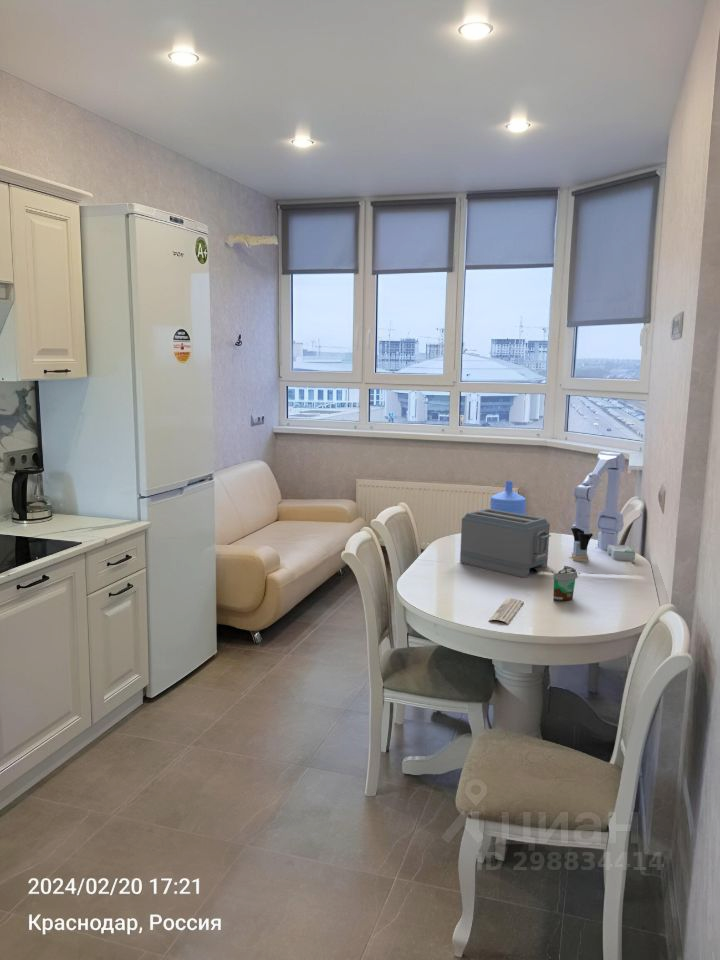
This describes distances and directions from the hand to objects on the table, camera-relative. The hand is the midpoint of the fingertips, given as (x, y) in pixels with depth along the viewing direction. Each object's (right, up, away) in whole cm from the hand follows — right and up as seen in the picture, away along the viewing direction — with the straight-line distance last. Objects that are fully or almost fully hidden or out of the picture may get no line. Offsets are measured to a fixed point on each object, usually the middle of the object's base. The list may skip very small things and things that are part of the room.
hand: (580, 547), depth 296 cm
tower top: (0, -5, +1) cm, 5 cm away
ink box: (+18, -4, +1) cm, 19 cm away
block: (0, -3, 0) cm, 3 cm away
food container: (-19, -13, -47) cm, 53 cm away
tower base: (0, -7, +1) cm, 7 cm away
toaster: (-32, -7, -8) cm, 33 cm away
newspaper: (-43, -16, -62) cm, 77 cm away
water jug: (-24, -1, +32) cm, 40 cm away
